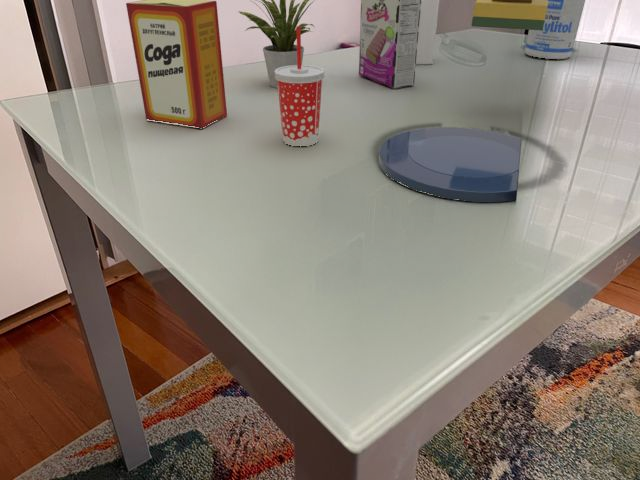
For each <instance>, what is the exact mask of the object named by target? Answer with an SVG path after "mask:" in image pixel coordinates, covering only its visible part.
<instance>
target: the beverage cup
mask: <svg viewBox="0 0 640 480" xmlns="http://www.w3.org/2000/svg"><path fill="white" fill-rule="evenodd" d="M295 29H297V39H296V45H297V65H291V66H284V67H280V68H277V69H276V70H275V71H274V74H275V79H276V80H277V85H278V88H277V93H278V95H277V96H278V104H279V113H280V124H281V133H282V142H283V141H284V142H285V143H284V142H283V143H284V145H286V144H288V145H287V146H289V145H291V146H290V147H293V146H300V147H299V148H302V147H301V146H307V147H311V146H310V145H312V146H314V145H313V144H315V143H316V144H318V143H319V135H320V119H321V103H322V101H321V100H322V88H323V87H322V85H323V84H322V83H323V79H324V78H325V69H323V68H322V67H321V66H320V67H319V66H316V65H309V64H302V65H301V46H302V38H301V37H302V34H301V28H300V26H299V25H297V26H296V28H295ZM317 142H318V143H317ZM316 144H315V145H316Z"/></svg>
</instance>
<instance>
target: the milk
mask: <svg viewBox="0 0 640 480" xmlns="http://www.w3.org/2000/svg"><path fill="white" fill-rule="evenodd" d="M439 8H440V0H421V9H420V21H419V34H418V45H417V56H416V66H418V65H419V66H420V65H433V64H434V56H435V45H436V38H437V37H436V36H437V27H438V17H439Z"/></svg>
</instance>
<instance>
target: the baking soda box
mask: <svg viewBox="0 0 640 480" xmlns="http://www.w3.org/2000/svg"><path fill="white" fill-rule="evenodd" d="M125 5H126V11H127V18H128V23H129V28H130V29H129V30H130V34H131V41H132V46H133V51H134V57H135V63H136V70H137V74H138V80H139V87H140V93H141V98H142V103H143V108H144V115H145V120H146V119H149V120H155V121H163V122H169V123H178V124H183V125H188V126H195V127H199V128H203V127H205V126H207V125H208V124H210V123H212V122H214V121H216V120H219V119H221V118H223V117H225V118H227V117H228V110H227V100H226V98H227V97H226V89H225V77H224V67H223V58H222V57H223V56H222V45H221V35H220V34H221V33H220V25H219V15H218V4H217V0H137V1H131V2H130V1H129V2H126V3H125ZM226 116H227V117H226ZM223 119H224V118H223ZM221 120H222V119H221ZM219 121H220V120H219Z"/></svg>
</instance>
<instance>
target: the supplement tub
mask: <svg viewBox="0 0 640 480" xmlns="http://www.w3.org/2000/svg"><path fill="white" fill-rule="evenodd" d="M585 3H586V0H548V7H547V11H546V16H545V21H544V26H543V30H528V33H527V37H526V44H525V46H524V47H525V48H524V52H525V53H524V54H526V55H527V56H529V57H532V56H533V57H532V58H535V57H538V58H537V59H541V58H545V59H544V60H549V59H557V60H565V59H568V57H569V58H570V57H571V56H572V54H573V50H574V47H575V43H576V39H577V35H578V31H579V28H580V27H579V26H580V23H581V19H582V15H583V11H584V7H585Z"/></svg>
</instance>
